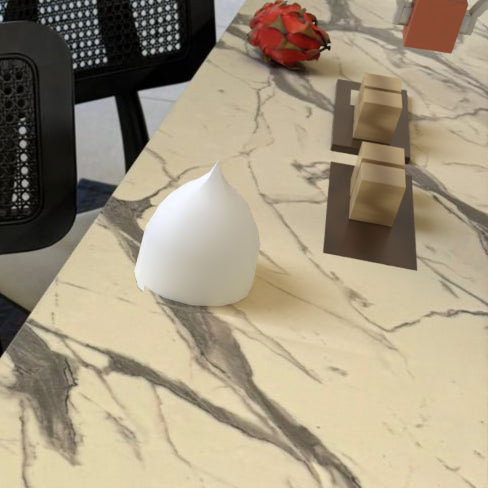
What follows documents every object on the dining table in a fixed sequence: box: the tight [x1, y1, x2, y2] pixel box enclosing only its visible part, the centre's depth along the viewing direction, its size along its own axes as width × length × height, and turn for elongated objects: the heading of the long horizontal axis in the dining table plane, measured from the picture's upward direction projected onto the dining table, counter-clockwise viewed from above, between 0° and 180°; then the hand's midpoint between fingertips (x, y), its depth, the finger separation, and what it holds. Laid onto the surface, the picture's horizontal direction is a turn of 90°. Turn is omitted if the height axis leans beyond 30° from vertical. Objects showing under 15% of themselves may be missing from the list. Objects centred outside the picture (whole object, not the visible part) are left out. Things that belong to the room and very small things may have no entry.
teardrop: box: [133, 159, 261, 315], centre depth 91 cm, size 11×11×12 cm
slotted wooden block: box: [330, 72, 412, 165], centre depth 126 cm, size 9×22×5 cm, turn 165°
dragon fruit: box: [246, 0, 332, 71], centre depth 138 cm, size 8×8×12 cm
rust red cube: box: [401, 0, 469, 55], centre depth 96 cm, size 4×4×4 cm
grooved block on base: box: [322, 142, 418, 272], centre depth 106 cm, size 9×22×5 cm, turn 165°
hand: (430, 28), depth 96 cm, fingers closed on rust red cube, 4 cm apart
